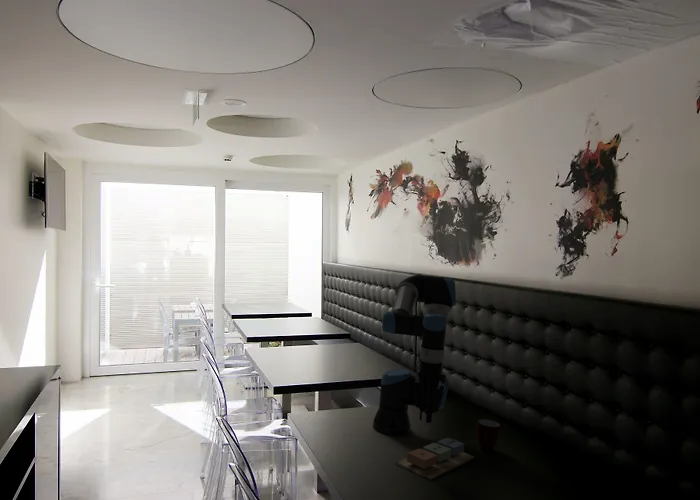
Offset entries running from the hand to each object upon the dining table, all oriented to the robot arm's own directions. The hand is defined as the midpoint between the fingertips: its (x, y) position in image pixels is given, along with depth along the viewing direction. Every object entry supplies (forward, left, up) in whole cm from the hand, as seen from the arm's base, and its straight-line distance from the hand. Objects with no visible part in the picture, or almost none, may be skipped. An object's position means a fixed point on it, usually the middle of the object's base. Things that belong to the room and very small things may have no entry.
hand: (424, 431), depth 166 cm
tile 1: (0, 0, -11) cm, 11 cm away
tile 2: (0, +9, -11) cm, 14 cm away
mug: (+6, +34, -13) cm, 37 cm away
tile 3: (0, +18, -11) cm, 21 cm away
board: (0, +9, -12) cm, 15 cm away
